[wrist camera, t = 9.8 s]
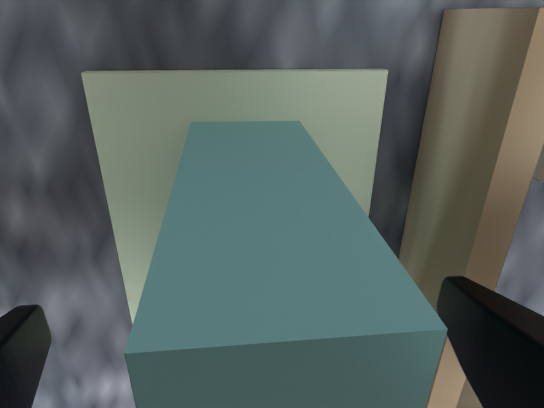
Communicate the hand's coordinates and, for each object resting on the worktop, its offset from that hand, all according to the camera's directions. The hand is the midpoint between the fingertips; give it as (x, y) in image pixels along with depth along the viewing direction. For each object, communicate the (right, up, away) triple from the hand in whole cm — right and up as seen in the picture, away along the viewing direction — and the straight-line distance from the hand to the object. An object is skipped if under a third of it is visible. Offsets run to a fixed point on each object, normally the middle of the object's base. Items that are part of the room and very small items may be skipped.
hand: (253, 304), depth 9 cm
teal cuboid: (0, +2, +3) cm, 4 cm away
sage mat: (0, +2, +4) cm, 4 cm away
